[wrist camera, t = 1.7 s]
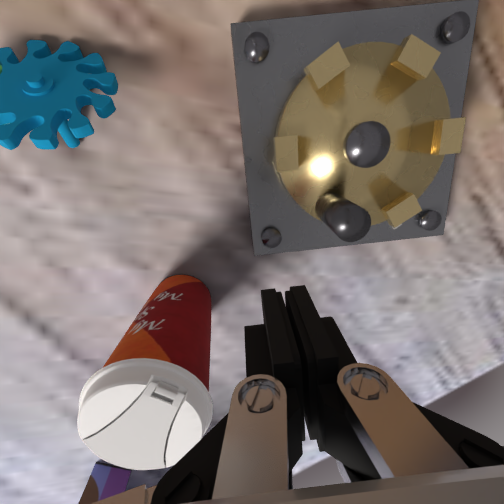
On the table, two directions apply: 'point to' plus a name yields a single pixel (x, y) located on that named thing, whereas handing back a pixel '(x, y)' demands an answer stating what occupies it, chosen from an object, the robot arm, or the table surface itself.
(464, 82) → the base plate
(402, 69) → the brass paddle wheel
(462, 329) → the table surface
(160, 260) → the table surface
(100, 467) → the blue book
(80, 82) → the gear
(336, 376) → the robot arm
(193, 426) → the coffee cup
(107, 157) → the table surface
